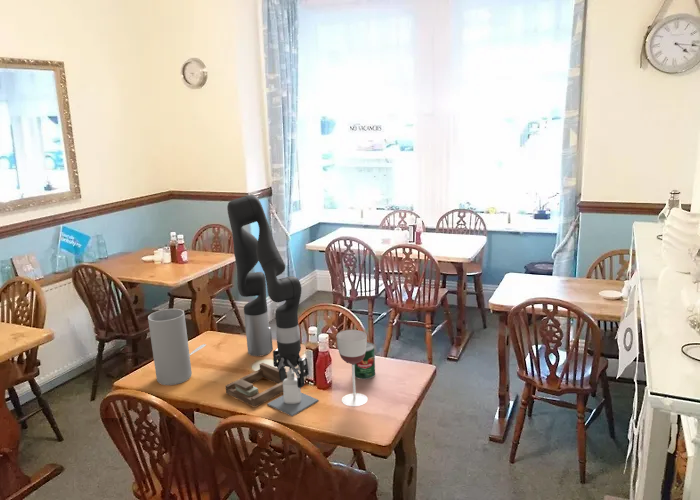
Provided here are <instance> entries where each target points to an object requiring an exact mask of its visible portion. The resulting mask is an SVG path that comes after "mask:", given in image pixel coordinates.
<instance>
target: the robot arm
mask: <svg viewBox="0 0 700 500" xmlns="http://www.w3.org/2000/svg"><path fill="white" fill-rule="evenodd" d="M227 215H228V219H229V224H230V228H231V233H232V241H233V243H232V244H233V252H234V253H233V254H234V259H235V266H236V275H237V276H236V279H237V290H238V291H237V292H238V293H239V295H240V297H244V298H248V297H256V298H254V299H253V300H251V301H249V302H248V303H246V304H244V306H243V313H244V325H245V334H246V335H245V336H246V345H247V346H246V347H247V354H248V355H249V356H252V357H263V356H266V355H268V354H270V353H271V351H272V350H273V347H274V346H273V337H272V336H273V334H272V328H271V327H270V325H269V313H268V304H267V301H268V300H267V294H268V297H269V298H270V300H271V301H272V302H274V303H282V302H284V303H283V304H282V305H280V306H279V307H277V308H276V310H275V325H276V327H275V328H276V331H275V335H276V336H275V337H276V346H277V348H276V349H275V350H273V351H272V356H273V357H272V360H273V367H275V368H277V369H278V370H279V377H280V380H282V381H283V380H284V379H286V372H287V371H286V368H288V369H289V368H291V369H292V371H293V372H294V374H295V375H296V378H297V384H298V387H299V388H300V389H301V388H303V387H304V386H305V377H307V376H309V374H310V373H309V372H310V371H309V365H308V359H307V357H304V358H302V357H301V356H300V353H301V350H302V345H301V334H300V331H301V330H300V325H299V316H298V314H299V313H298V311H299V306H300V302H301V301H300V300H301V298H302V297H301V296H302V284H301V282H300V279H299V278H297V277H296V276H286V277H283V278H279V279H278V276H280V275H282V274H283V273H284V272H285V271H286V264H285V261H284V259H283V257H282V256H281V253H280V252H279V249H278V248H277V245H276V242H275V240H274V237H273V233H272V230H271V228H270V225H269V223H268V219H267V217H266V213H265V211H264V208H263V204H262V203H261V201H260V199H259V197H257V196H256V195H255V194H249V195H244V196H242V197H239V198H238V197H237V198H235V199H233V200H231V201H229V202H228V203H227ZM254 223H257V224H258V238H257V237H255V236H254V235H253V234H252V233H251V232H249V231H247V230H246V229H244V226H248V225H250V224H254ZM258 263H259V264H260V267H261V268H262V270H263V271H256V272H255V271H254V272H253V271H252V270H253V269H254V267H255V266H256V265H257V264H258ZM251 271H252V272H251ZM285 367H286V368H285Z"/></svg>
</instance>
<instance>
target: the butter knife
mask: <svg viewBox="0 0 700 500" xmlns="http://www.w3.org/2000/svg"><path fill="white" fill-rule="evenodd" d="M205 346H207V343H206V344H205V343H204V344H201V345H199V346H198V347H196V348H195V349H194V350H192V351H191V352H189V355H190V356H191V355H193V354H195V353H196V352H198V351H200V350H202V349H203V348H205Z"/></svg>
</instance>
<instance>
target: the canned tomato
mask: <svg viewBox="0 0 700 500" xmlns="http://www.w3.org/2000/svg"><path fill="white" fill-rule="evenodd" d="M375 354H376V353H375V344H374V343H373V342H369V341H367V346H366V353H365V357H364V359H363V360H362V361H361V362H359V363H356V364H354V368H355V379H359V380H369V379H372V378H374V377H375V375H376V358H375V357H376V356H375Z"/></svg>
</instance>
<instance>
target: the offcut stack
mask: <svg viewBox="0 0 700 500" xmlns="http://www.w3.org/2000/svg"><path fill="white" fill-rule="evenodd" d="M235 386H236V389H234V390H236V391H238V392H240V393H242V394H244V395H247V396H249V397H253V396H255V395H257V394H259V388H258V387H256V386H254V383H249V382H247V381H244V380H240V381H238V382H236V383H235Z"/></svg>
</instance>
